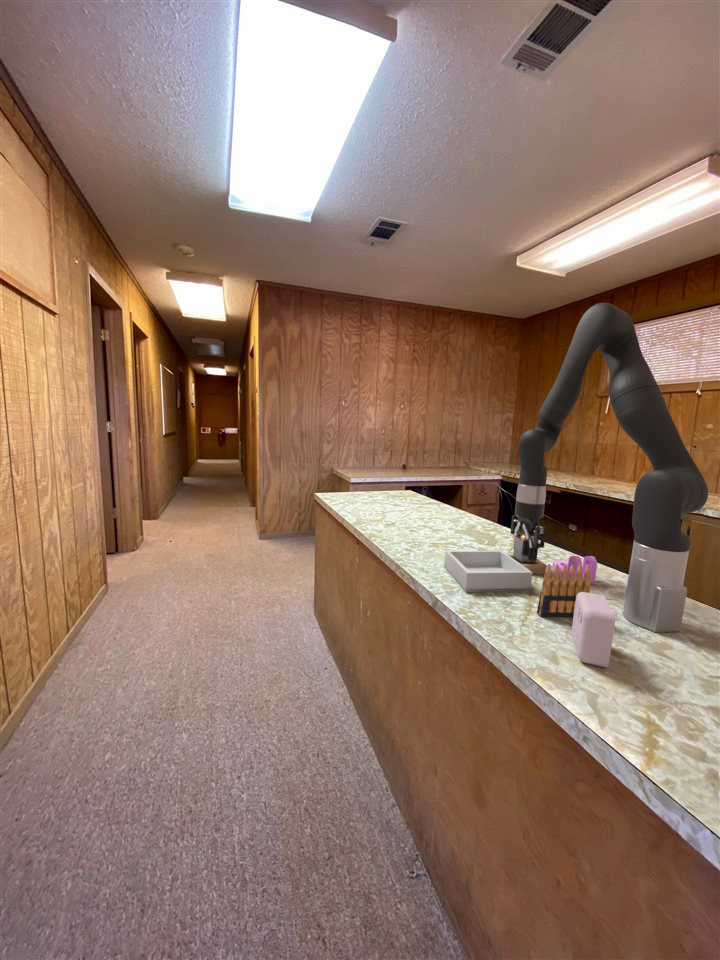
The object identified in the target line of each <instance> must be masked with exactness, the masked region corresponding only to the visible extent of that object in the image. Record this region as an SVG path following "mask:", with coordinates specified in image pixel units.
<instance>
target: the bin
mask: <svg viewBox="0 0 720 960" xmlns="http://www.w3.org/2000/svg"><path fill="white" fill-rule="evenodd" d="M443 568H445V569H444V570H446V571H447V572H448V573H449V575H450V577H452V579H454V581H455V582H456V583H457V584H458V586H459V587H460V588H461V589H462V590H463V591H464V593H503V592H505V593H506V592H507V593H508V592H512V593H513V592H517V593H518V592H531V589H532V579H533V574H532V573H533V572H531V571H530V570H528V569H527V568H526V567H524V566H523V565H521V564H520V563H519V562H517V561H516V560H514V559H513V558H512V557H510V556H509V555H507V553H506V552H504V551H503V550H445V552H444V567H443Z"/></svg>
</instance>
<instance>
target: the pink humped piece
mask: <svg viewBox="0 0 720 960" xmlns="http://www.w3.org/2000/svg"><path fill="white" fill-rule="evenodd" d="M581 558H582V557H580V556H579V555H571V556H569V558H568V561H563V560H554V561H553V562H552V568H553V569H554V568H555V565H556V564H558V566H559V574H561V571H562V568H563V566H564V564H566V566H567V579H568V576H569V570H570V568H571V566H572V564H574V567H575V579H576V574H577V570H578V567H579V566H580V564H581V565H582V568H583V578H584V573H585V569H586V567H587V565H588V564H589V565H590V569H591V576H590V584H595V582H596V575H597V570H598V561H597V559H596V557H595V556H594V555H586V556H584V557H583V561H582V559H581ZM582 581H583V579H582Z"/></svg>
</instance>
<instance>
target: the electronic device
mask: <svg viewBox="0 0 720 960" xmlns="http://www.w3.org/2000/svg"><path fill="white" fill-rule="evenodd" d="M615 623H616V617H615V613H614V610H612V607H611V606H610V604H609V602H608V600H607V598H606V597H605V595H603V594H596V593H592V592H590V593H586V592H580V593H578V594H577V596H576V602H575V609H574V617H573V618H572V627H571V637H572V641H573V645H574V648H575V650H576V653H577V654H576V655H577V657H578V659H579V661H581V662H582V663H585V664H588V665H593V666H597V667H602V668H606V669H608V668H609V665H610V659H611V652H612V644H613V640H614V633H615V632H614V631H615V628H616V627H615V626H616V624H615Z"/></svg>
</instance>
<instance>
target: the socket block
mask: <svg viewBox="0 0 720 960" xmlns="http://www.w3.org/2000/svg"><path fill="white" fill-rule="evenodd" d="M506 554H507V553H506ZM507 555H509V556H510V557H512V558H513V554H509V553H508V554H507ZM521 565H523V566H524V567H526V568H527V569H528V570H530V571H531V572H533V573H532V575H545V570H546V567H547V565H548V564H546V563H544V562H543V561H541V560H540V559H538V558H537V560H536V561H535V564H521Z"/></svg>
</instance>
